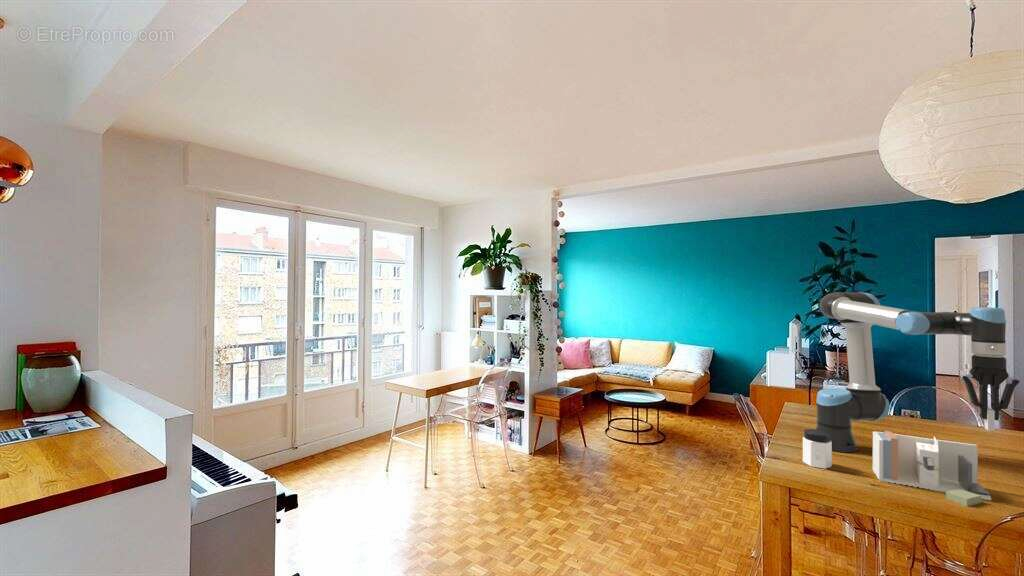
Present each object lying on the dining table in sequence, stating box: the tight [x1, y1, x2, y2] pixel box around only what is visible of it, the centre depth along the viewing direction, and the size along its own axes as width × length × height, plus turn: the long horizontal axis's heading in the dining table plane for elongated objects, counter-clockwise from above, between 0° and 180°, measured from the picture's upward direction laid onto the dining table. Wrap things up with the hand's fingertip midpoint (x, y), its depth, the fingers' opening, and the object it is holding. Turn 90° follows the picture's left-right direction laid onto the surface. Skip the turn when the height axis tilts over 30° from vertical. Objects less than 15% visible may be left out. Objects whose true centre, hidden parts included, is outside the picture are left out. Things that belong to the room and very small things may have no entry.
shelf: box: [872, 430, 992, 501], centre depth 147 cm, size 27×11×15 cm, turn 60°
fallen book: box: [945, 489, 982, 507], centre depth 135 cm, size 7×5×2 cm
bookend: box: [958, 455, 991, 496], centre depth 141 cm, size 5×8×9 cm, turn 150°
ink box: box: [916, 436, 939, 487], centre depth 147 cm, size 9×5×15 cm, turn 143°
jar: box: [802, 428, 833, 470], centre depth 163 cm, size 9×8×12 cm
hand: (989, 429), depth 139 cm, fingers closed
